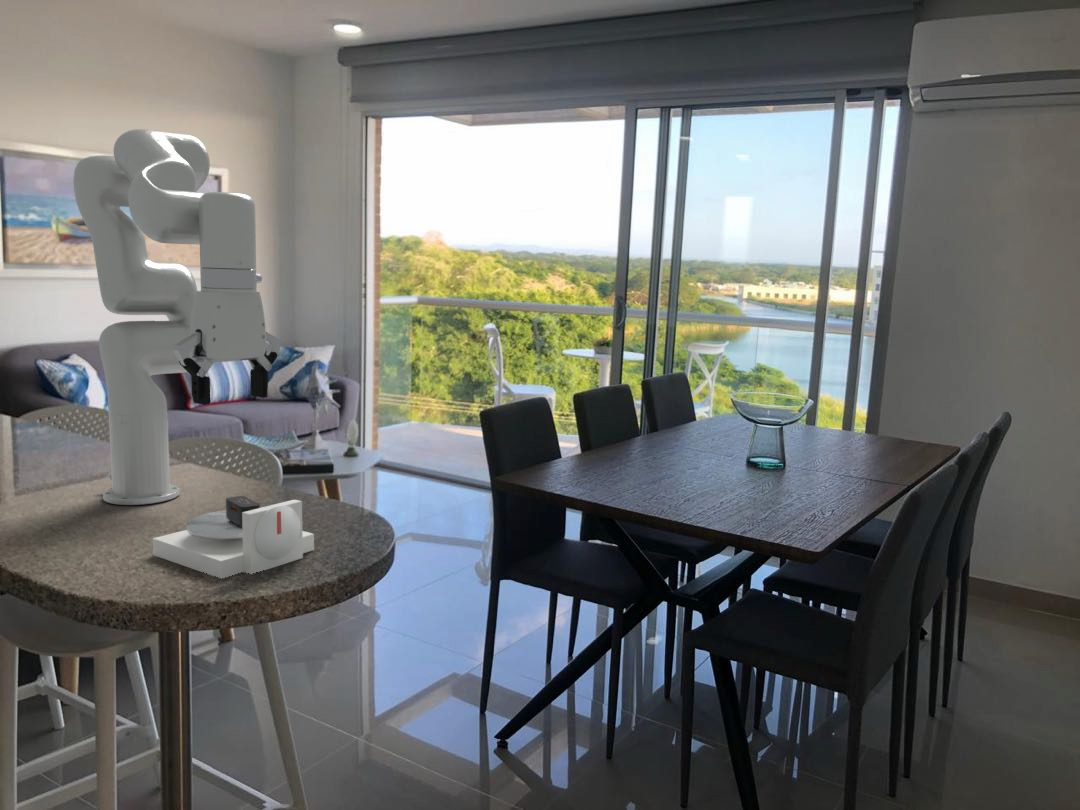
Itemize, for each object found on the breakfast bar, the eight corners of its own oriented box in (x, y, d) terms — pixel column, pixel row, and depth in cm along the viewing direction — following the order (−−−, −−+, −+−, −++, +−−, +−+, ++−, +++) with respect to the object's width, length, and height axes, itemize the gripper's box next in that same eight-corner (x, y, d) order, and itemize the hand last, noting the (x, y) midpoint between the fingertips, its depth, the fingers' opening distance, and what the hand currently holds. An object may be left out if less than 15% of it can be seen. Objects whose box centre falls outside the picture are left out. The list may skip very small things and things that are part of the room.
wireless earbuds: (245, 531, 124) (244, 508, 123) (225, 519, 129) (224, 498, 128) (276, 525, 127) (276, 503, 126) (255, 514, 132) (254, 493, 131)
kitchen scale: (153, 555, 127) (150, 496, 126) (246, 530, 140) (244, 476, 139) (231, 582, 117) (230, 518, 115) (324, 552, 130) (323, 495, 128)
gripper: (262, 280, 134) (264, 391, 137) (157, 280, 120) (161, 403, 123) (294, 282, 130) (295, 397, 132) (189, 282, 116) (193, 410, 118)
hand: (231, 400), depth 128 cm, fingers open, 9 cm apart
